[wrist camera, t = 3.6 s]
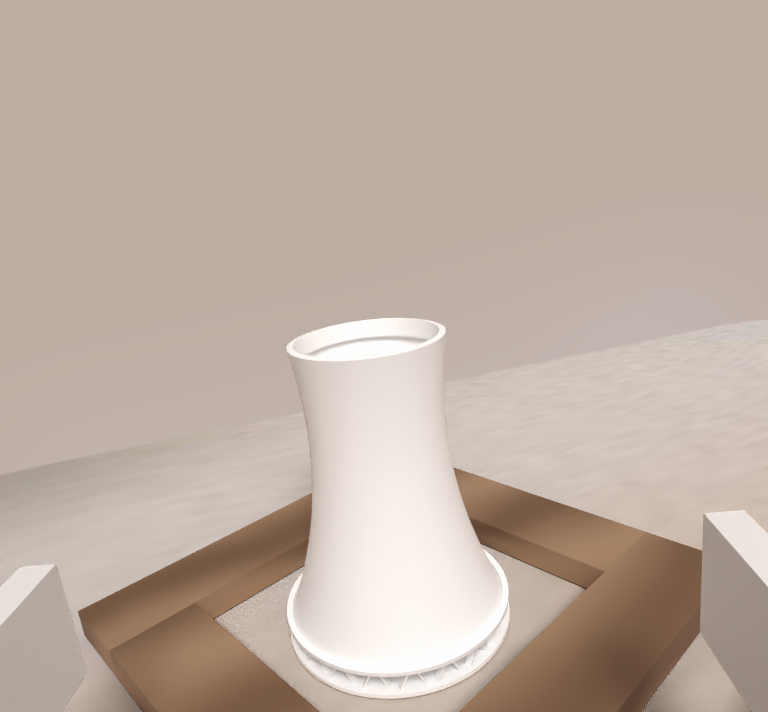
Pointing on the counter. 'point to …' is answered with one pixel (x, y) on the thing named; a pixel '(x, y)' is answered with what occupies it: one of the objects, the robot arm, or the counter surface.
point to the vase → (387, 520)
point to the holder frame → (493, 528)
